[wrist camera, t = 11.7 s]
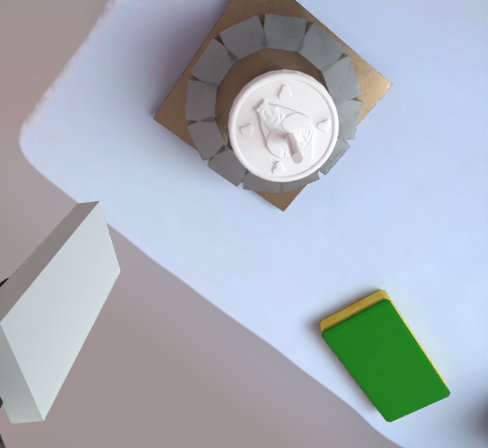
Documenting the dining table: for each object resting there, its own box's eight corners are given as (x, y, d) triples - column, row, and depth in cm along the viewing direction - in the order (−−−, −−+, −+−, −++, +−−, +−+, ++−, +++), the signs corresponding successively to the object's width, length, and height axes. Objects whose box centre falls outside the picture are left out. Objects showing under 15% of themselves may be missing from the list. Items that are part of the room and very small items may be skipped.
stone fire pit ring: (254, -34, 32) (255, -41, 28) (388, 82, 35) (407, 91, 31) (155, 116, 36) (143, 128, 32) (282, 207, 39) (286, 229, 35)
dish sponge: (381, 406, 49) (388, 424, 47) (317, 319, 45) (320, 335, 43) (442, 378, 48) (452, 395, 46) (382, 285, 43) (389, 299, 41)
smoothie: (273, 158, 36) (286, 235, 24) (215, 101, 35) (195, 150, 22) (334, 101, 35) (384, 150, 22) (276, 36, 33) (293, 50, 20)
